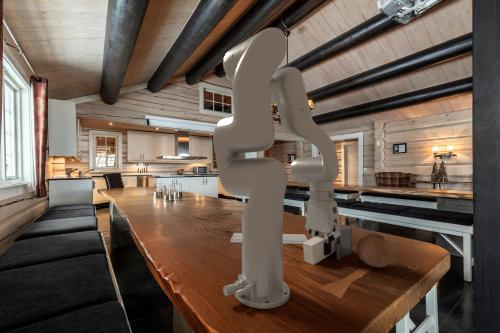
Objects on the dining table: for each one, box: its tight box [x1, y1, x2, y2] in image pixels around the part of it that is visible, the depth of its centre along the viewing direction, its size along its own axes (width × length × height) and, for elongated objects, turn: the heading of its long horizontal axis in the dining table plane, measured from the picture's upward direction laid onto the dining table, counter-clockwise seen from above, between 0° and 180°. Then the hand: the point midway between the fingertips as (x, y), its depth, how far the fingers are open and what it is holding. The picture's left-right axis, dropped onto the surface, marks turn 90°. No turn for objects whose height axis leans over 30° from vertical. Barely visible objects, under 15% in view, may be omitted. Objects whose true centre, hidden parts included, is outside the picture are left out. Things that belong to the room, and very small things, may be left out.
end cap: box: [321, 224, 353, 261], centre depth 79 cm, size 10×9×9 cm
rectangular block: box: [302, 231, 338, 265], centre depth 74 cm, size 14×4×6 cm, turn 127°
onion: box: [356, 232, 394, 269], centre depth 67 cm, size 10×9×10 cm
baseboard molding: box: [229, 232, 309, 245], centre depth 94 cm, size 31×3×12 cm
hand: (322, 251), depth 74 cm, fingers closed on rectangular block, 3 cm apart
